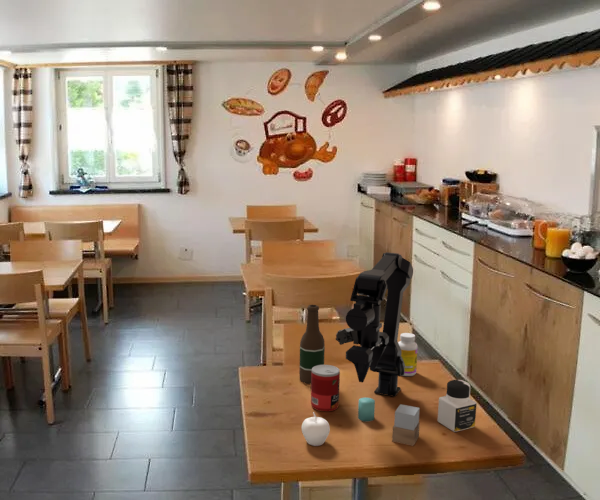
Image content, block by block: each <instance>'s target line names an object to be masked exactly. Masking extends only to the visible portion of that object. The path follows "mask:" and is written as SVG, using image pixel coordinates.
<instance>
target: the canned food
mask: <svg viewBox="0 0 600 500" xmlns="http://www.w3.org/2000/svg"><path fill="white" fill-rule="evenodd" d="M340 370H341V369H340V368H338V367H337V366H336V365H335V366H334V365H332V364H331V365H330V364H324V365H317V366H314V367H313V368H312V374H311V384H310V386H311V387H310V389H311V390H310V392H311V393H310V395H311V396H310V404H311V407H312V408H313V409H314V410H317V411H319V412H333V411H335V410H337V409H338V407H339V404H340V379H341V378H340V377H341V371H340Z"/></svg>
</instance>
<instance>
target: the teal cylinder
mask: <svg viewBox="0 0 600 500" xmlns="http://www.w3.org/2000/svg"><path fill="white" fill-rule="evenodd" d="M375 406H376V400H375V399H374V398H371V397H360V398H359V399H358V409H357V419H358V420H359V421H362V422H367V423H368V422H373V421H374V420H375V410H376V409H375V408H376V407H375Z"/></svg>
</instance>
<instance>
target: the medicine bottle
mask: <svg viewBox="0 0 600 500" xmlns="http://www.w3.org/2000/svg"><path fill="white" fill-rule="evenodd" d="M470 396H471V385H470V383H469V382H467V381H466V380H462V379H451V380H449V381H448V382H447V383H446V395H443V396H439V398H438V409H437V422H438V423H440V424H441V425H442V426H444V427H445V428H447V429H449V430H450V431H451V432H453V433H457V432H462V431H464V430H468V429H472V428H475V427H476V415H477V401H475V400H473V399H471V398H470Z"/></svg>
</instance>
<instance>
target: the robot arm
mask: <svg viewBox="0 0 600 500" xmlns="http://www.w3.org/2000/svg"><path fill="white" fill-rule="evenodd" d="M381 256H382V257H381V258H380V260H379V261H378V262H377V263H376V264H375V265H374V266H373V267H372V268H371V269H369V270H368V269H367V270H364V271H362V272H360V273H359V274H358V276H357V277H356V278H355V281H354V284H353V287H352V292H351V296H350V302H355V303H353V307H352V308H351V309H350V310H349V311H347V313H346V315H345V322H346V325H347V328H343V329H340V330H337V332H336V334H335V341H337V342H338V344H339V345H340V346H343V345H344V344H347V343H352V342H353V345H352V346H351V347H350V348H349V349H347V350H346V351H345V360H347V361H349V362H351V363H352V365H354V367H355V368H354V369H355V372H356V375H357V379H358V382H359V383H364V382H365V379H366V377H367V374H368V372H369V371H371V372H373V373H378V380H377V381H378V382H377V383H378V384H377V385H378V386H377V387H376V388H375V389H374V392H373V393H374V394H378V395H385V396H390V397H396V396H397V395H398V393H399V392H400V391H401V387H399V386H398V382H399V379H398V378H399V377H401V376H402V375H404V372H405V364H404V361H403V359H402V357H401V348H400V346H399V344H398V342H399V341H398V337H399V329H400V323H401V313H402V306H403V305H402V304H403V297H404V292H405V291H406V289H407V288H408V287H409V286H410V284H411V279H413V276H414V268H413V265H412V263H411V262H410V261H409V260H407V259H406V258H404V257H403V256H402V254H400V253H397V252H383V254H382V255H381ZM386 292H387V293H386ZM386 294H387V296H386ZM385 296H386V300H385V301H386V302H385V310H384V317H383V323H382V322H381V309H382V308H381V307H382V306H381V304H382V302H383V301H384V299H385ZM380 329H382V331H380Z"/></svg>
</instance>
